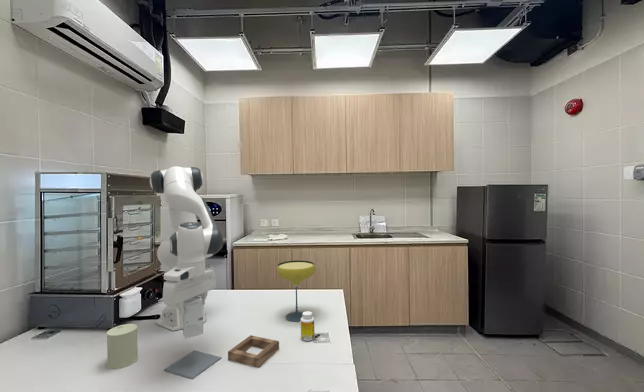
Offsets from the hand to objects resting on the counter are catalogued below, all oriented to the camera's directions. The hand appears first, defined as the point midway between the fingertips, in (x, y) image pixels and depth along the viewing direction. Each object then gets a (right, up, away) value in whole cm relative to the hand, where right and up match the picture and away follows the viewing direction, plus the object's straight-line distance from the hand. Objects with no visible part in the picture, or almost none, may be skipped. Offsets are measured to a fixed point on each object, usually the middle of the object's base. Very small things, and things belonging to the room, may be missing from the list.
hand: (192, 309), depth 102 cm
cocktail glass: (+33, -19, +38) cm, 54 cm away
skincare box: (0, -9, 0) cm, 9 cm away
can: (-26, -20, +2) cm, 33 cm away
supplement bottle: (+39, -19, +17) cm, 47 cm away
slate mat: (0, -19, 0) cm, 19 cm away
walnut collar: (+20, -19, +6) cm, 28 cm away
